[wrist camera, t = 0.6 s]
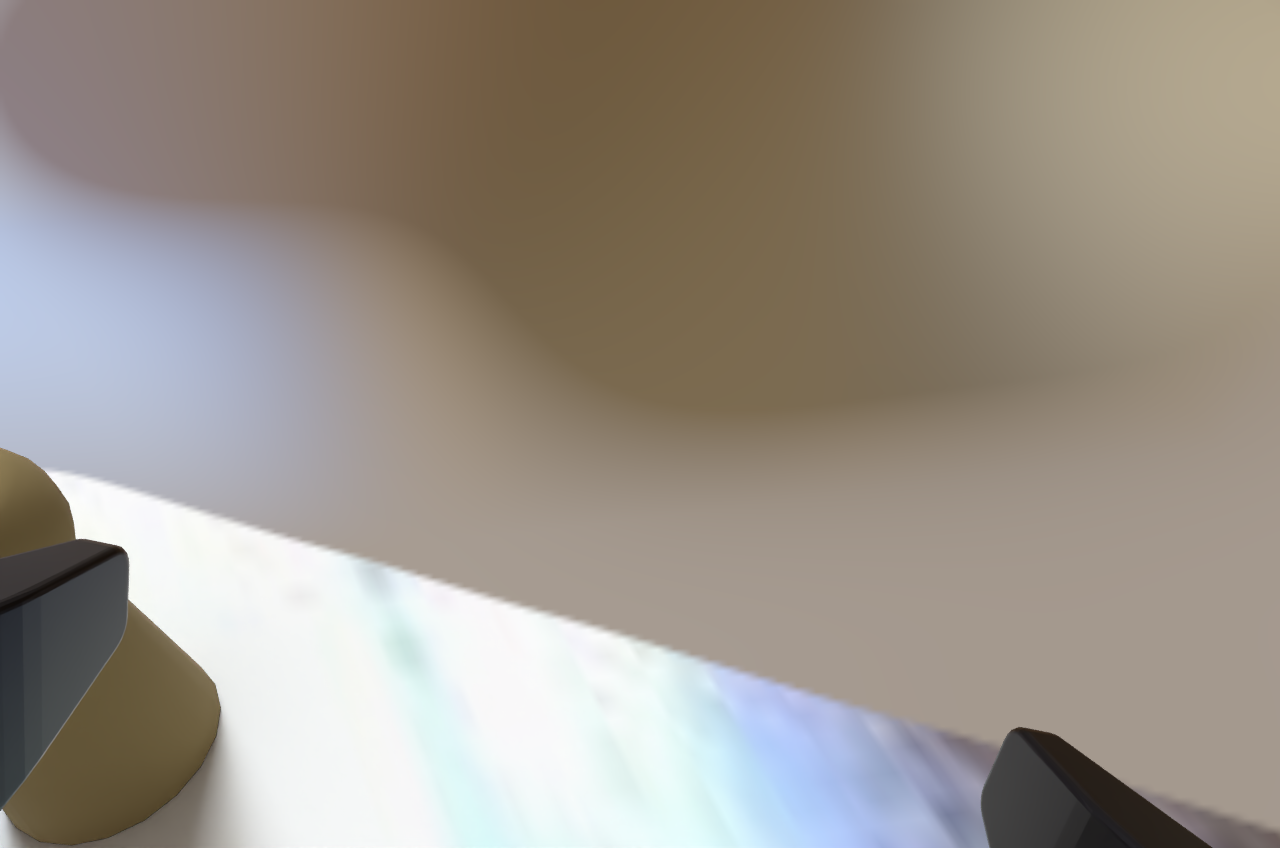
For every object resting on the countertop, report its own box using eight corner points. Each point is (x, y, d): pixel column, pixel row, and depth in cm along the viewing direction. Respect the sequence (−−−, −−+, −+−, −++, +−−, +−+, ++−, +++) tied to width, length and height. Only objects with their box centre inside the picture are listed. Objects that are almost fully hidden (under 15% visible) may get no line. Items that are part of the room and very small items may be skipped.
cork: (244, 649, 28) (94, 397, 21) (182, 838, 24) (-38, 606, 16) (58, 659, 28) (-162, 409, 20) (-41, 851, 24) (-366, 623, 16)
